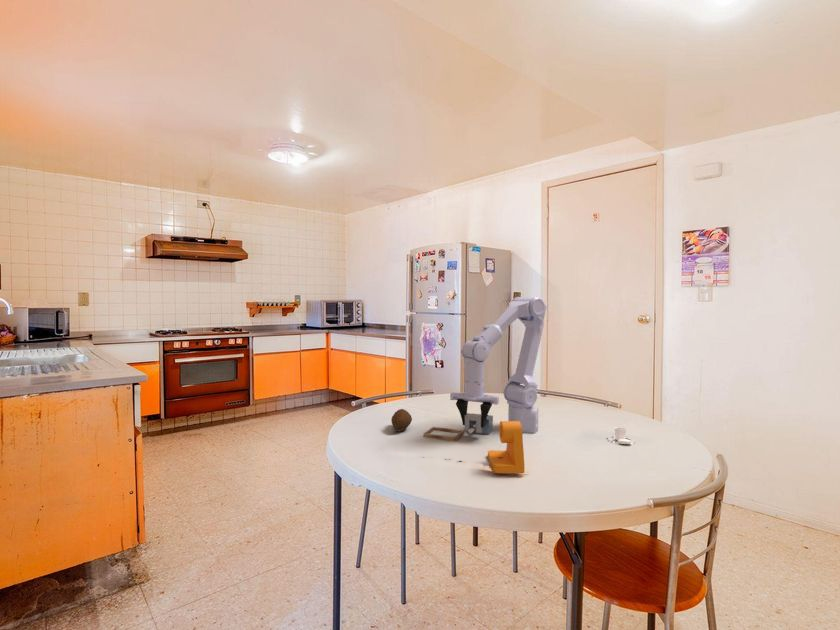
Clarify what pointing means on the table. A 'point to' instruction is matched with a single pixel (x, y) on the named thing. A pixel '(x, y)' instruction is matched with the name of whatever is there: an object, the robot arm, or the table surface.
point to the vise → (486, 429)
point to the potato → (401, 420)
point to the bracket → (509, 449)
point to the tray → (427, 434)
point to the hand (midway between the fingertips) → (473, 425)
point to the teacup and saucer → (621, 436)
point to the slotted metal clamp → (474, 418)
